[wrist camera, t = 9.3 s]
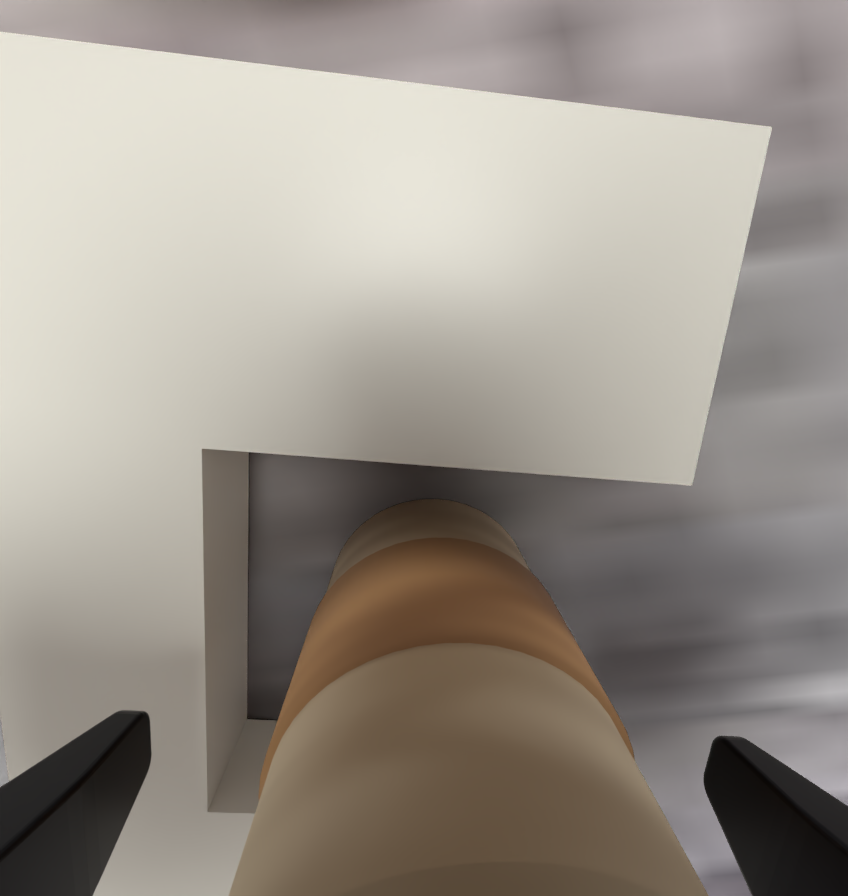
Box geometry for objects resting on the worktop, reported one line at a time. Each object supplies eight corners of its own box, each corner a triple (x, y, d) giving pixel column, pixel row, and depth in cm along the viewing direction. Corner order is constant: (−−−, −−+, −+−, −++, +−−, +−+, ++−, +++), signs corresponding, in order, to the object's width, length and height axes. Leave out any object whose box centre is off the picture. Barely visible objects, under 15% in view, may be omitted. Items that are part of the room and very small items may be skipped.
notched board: (680, 181, 10) (772, 126, 7) (544, 897, 14) (573, 1014, 12) (44, 108, 9) (-90, 20, 7) (105, 887, 13) (38, 1009, 11)
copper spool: (544, 503, 11) (858, 859, 3) (516, 685, 12) (704, 1263, 5) (332, 487, 11) (148, 839, 3) (322, 674, 12) (170, 1275, 4)
